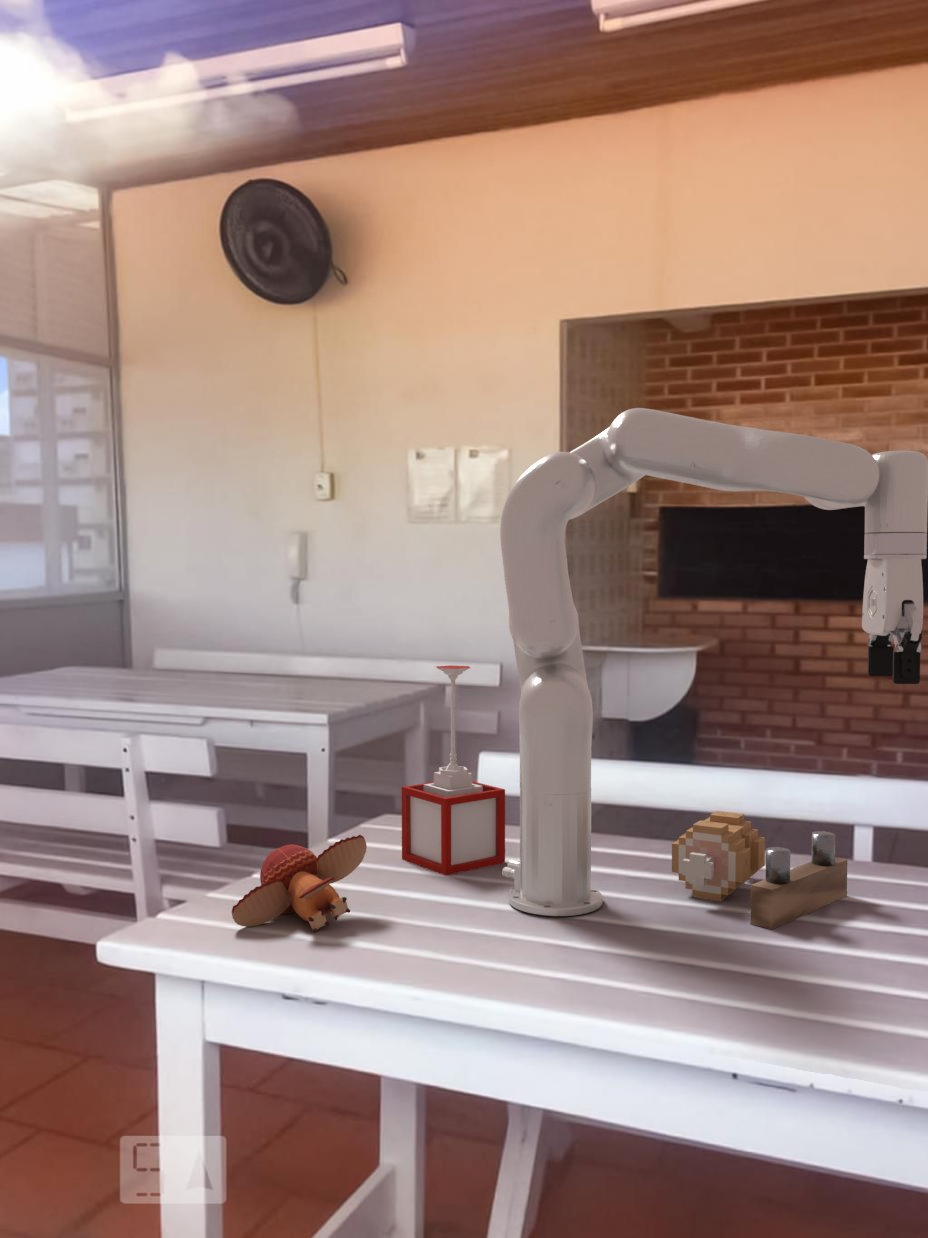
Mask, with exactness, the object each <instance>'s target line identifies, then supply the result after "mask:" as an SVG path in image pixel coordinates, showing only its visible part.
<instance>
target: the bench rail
mask: <svg viewBox="0 0 928 1238" xmlns="http://www.w3.org/2000/svg"><path fill="white" fill-rule="evenodd" d="M847 896H848V859H846V858H841V857H837V856H836V833H834V832H831V831H825V830H824V831H823V830H818V831H812V832H811V861H809V862H806V863H804V864H801V865H799V866H796V867H794V868H792V869H791V849H789V848H786V847H781V846H780V847H779V846H769V847H767V848H766V847H765V879H762V880H760V881H757V882H755V883H752V884H750V921H749V922H750V925H753V926H757V927H761V928H764V929H768V930H774V929H776V928H779V927H780V926H783V925H785V924H787V923H789V922H792V921H794V920H796V919H798V918H801V917H803V916H805V915H807V914H810V913H812V912H813V911H816V910H819V909H821V908H822V907H824V906H825V907H826V906H827V905H829V904H832V903H834V902H836V901H838V900H840V899H842V898H844V897H847Z"/></svg>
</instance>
